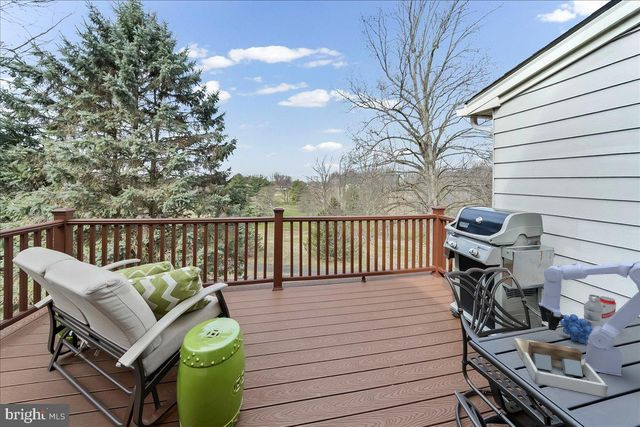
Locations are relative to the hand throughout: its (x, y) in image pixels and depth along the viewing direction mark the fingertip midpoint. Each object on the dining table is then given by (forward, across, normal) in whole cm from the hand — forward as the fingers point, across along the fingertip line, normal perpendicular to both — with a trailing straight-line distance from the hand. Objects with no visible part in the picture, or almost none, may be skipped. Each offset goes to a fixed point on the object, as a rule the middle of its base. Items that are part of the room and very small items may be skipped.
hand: (548, 325), depth 124 cm
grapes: (+11, -11, +14) cm, 21 cm away
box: (+10, +20, -2) cm, 23 cm away
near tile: (+8, +16, +2) cm, 18 cm away
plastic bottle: (+11, -17, +22) cm, 30 cm away
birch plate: (+10, +8, -2) cm, 13 cm away
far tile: (+8, +15, -7) cm, 19 cm away
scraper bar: (+7, +13, -2) cm, 15 cm away
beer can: (+11, -28, +32) cm, 44 cm away
